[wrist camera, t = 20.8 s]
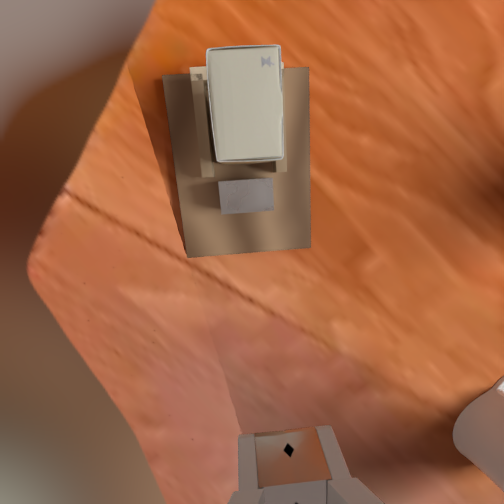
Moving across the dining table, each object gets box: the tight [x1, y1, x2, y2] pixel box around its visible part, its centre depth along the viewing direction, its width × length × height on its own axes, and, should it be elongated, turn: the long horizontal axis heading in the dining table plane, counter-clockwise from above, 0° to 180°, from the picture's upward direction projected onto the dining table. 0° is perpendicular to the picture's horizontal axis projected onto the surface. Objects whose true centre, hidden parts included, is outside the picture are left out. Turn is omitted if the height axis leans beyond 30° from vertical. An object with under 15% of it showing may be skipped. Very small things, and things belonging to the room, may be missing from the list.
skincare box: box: [206, 45, 284, 165], centre depth 22 cm, size 6×4×12 cm
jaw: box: [218, 178, 274, 215], centre depth 27 cm, size 5×3×4 cm, turn 94°
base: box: [162, 62, 311, 258], centre depth 28 cm, size 14×18×4 cm
